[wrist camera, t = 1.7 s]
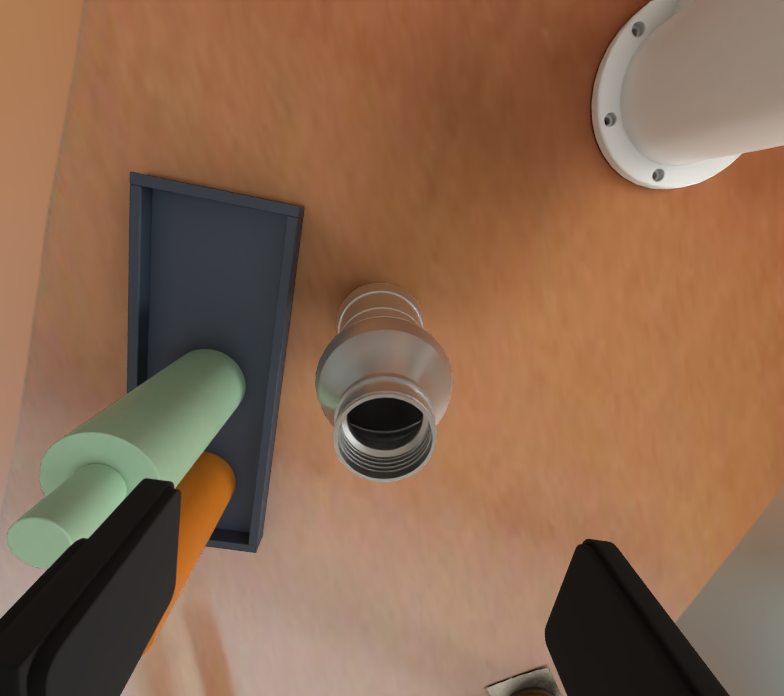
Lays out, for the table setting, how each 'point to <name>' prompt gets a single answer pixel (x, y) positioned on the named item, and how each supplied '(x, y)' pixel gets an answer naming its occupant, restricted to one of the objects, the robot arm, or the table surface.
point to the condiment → (527, 685)
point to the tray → (216, 315)
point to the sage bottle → (127, 451)
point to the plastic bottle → (383, 384)
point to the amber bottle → (198, 516)
